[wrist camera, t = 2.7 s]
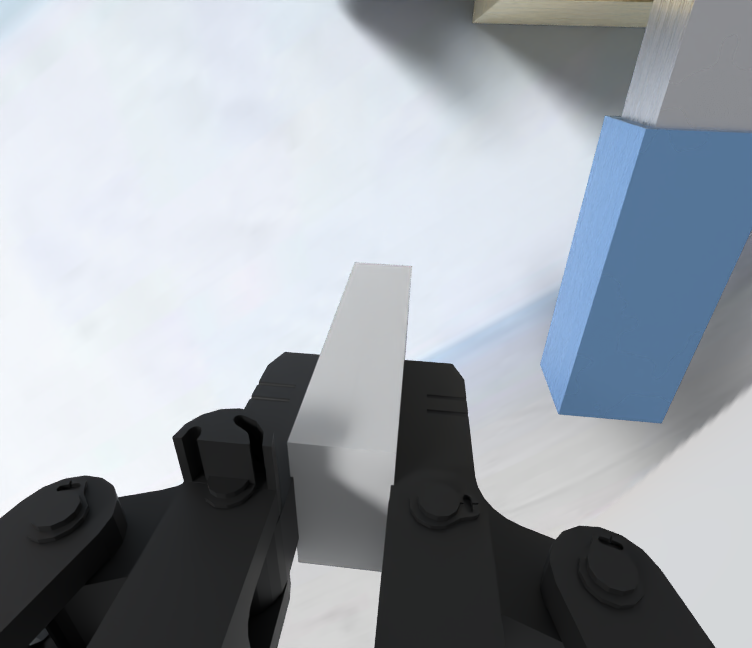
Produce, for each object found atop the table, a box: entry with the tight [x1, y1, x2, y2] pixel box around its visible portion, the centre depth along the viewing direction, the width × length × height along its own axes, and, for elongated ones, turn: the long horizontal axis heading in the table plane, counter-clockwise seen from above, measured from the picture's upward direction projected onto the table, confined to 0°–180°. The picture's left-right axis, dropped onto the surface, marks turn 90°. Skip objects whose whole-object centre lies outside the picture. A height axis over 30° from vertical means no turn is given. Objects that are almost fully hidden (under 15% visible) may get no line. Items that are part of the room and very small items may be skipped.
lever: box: [540, 0, 752, 423], centre depth 10 cm, size 17×5×3 cm, turn 178°
